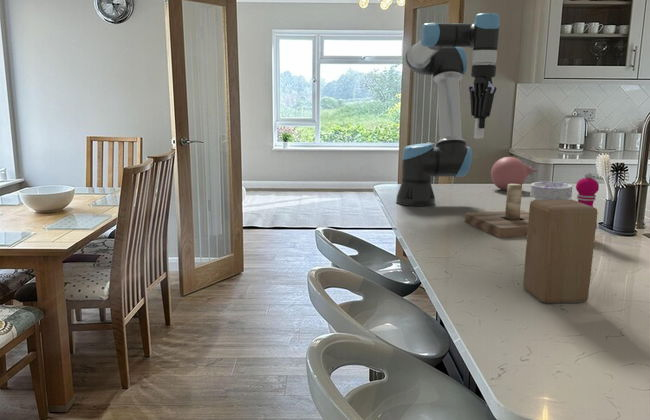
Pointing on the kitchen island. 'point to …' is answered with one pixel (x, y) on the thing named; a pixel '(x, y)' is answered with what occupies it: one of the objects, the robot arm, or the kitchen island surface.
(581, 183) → the pepper mill
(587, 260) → the wooden block
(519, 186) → the beech peg
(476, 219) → the walnut board
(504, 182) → the balloon
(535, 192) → the paper bowls
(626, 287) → the kitchen island surface
